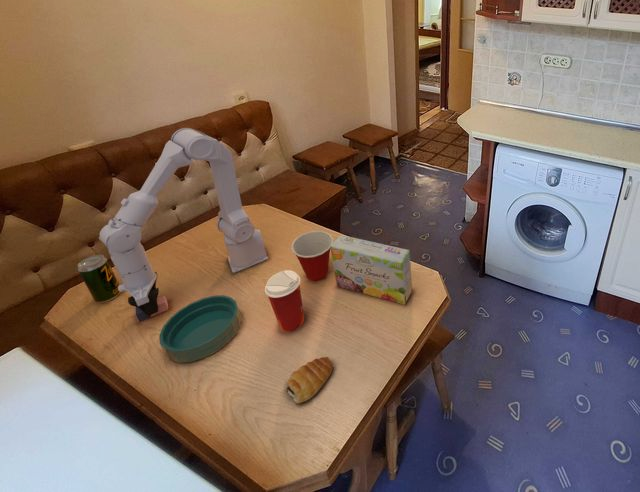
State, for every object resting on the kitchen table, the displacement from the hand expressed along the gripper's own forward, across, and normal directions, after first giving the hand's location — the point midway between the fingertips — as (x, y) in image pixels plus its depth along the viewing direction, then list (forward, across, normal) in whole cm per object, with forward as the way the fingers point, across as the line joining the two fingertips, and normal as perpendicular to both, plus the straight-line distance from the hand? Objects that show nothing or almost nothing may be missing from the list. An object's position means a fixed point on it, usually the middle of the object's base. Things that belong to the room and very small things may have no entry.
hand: (152, 307), depth 91 cm
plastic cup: (+2, +14, +37) cm, 40 cm away
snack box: (+2, +30, +47) cm, 56 cm away
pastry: (+2, +44, +24) cm, 50 cm away
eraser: (+2, 0, 0) cm, 2 cm away
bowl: (+2, +16, +9) cm, 18 cm away
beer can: (+2, -14, -9) cm, 17 cm away
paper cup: (+2, +26, +26) cm, 37 cm away
